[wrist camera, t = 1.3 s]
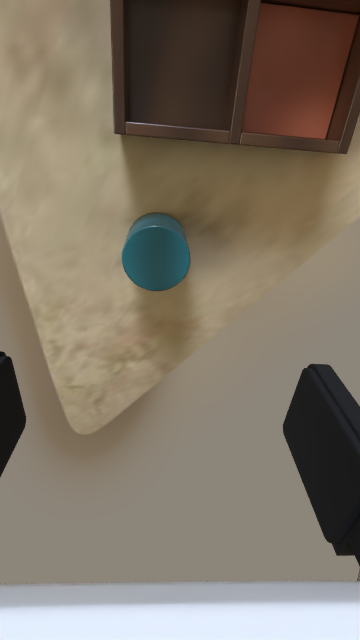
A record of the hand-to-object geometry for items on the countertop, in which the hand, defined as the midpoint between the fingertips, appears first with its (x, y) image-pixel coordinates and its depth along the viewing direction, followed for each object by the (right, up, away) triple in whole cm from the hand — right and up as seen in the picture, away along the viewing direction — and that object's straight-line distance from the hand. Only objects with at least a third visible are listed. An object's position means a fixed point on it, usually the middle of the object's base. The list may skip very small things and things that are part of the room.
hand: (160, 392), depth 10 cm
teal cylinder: (-1, +8, +12) cm, 14 cm away
